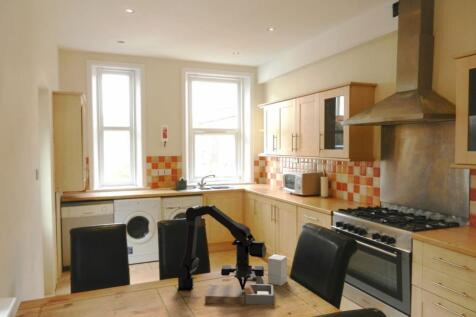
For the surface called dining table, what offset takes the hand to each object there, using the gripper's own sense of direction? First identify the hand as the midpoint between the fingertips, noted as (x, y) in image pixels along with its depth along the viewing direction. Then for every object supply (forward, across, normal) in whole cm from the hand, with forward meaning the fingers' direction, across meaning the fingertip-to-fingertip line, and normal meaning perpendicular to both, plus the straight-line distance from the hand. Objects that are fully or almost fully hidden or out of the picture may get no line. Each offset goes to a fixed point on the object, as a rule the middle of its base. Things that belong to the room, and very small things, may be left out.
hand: (242, 289), depth 160 cm
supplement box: (+4, +16, +19) cm, 25 cm away
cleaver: (+4, +3, +22) cm, 23 cm away
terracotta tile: (+2, +2, 0) cm, 2 cm away
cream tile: (+2, +9, 0) cm, 9 cm away
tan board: (+4, -8, 0) cm, 8 cm away
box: (+4, +8, 0) cm, 8 cm away
